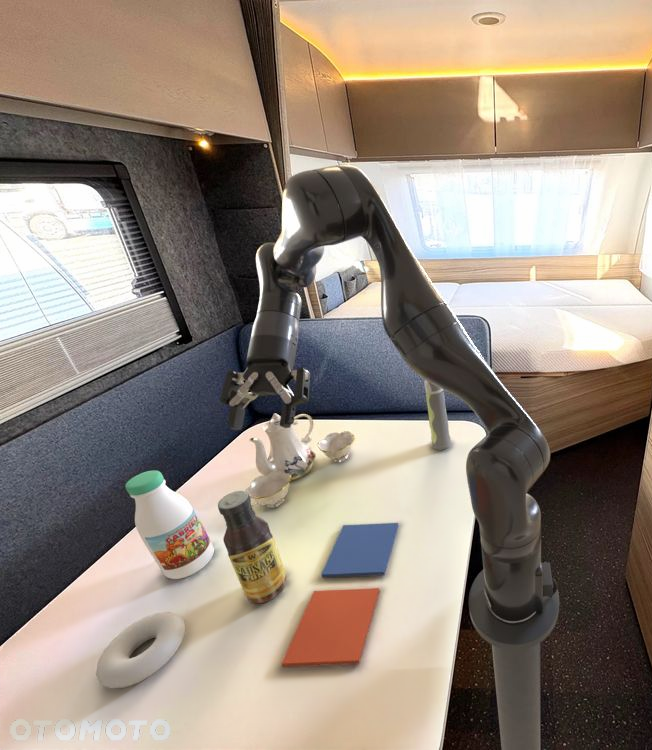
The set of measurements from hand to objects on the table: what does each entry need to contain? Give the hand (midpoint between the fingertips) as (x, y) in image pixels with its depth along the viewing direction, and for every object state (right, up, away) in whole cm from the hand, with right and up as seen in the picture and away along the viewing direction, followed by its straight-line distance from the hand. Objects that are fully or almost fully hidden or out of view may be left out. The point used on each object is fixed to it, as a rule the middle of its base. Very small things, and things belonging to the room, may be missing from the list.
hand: (260, 428), depth 66 cm
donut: (-11, -33, -8) cm, 36 cm away
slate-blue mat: (+15, -24, +7) cm, 29 cm away
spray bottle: (+26, -10, +35) cm, 45 cm away
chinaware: (-7, -15, +28) cm, 32 cm away
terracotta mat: (+15, -30, -6) cm, 34 cm away
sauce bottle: (+1, -28, +1) cm, 28 cm away
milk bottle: (-17, -26, +6) cm, 32 cm away
